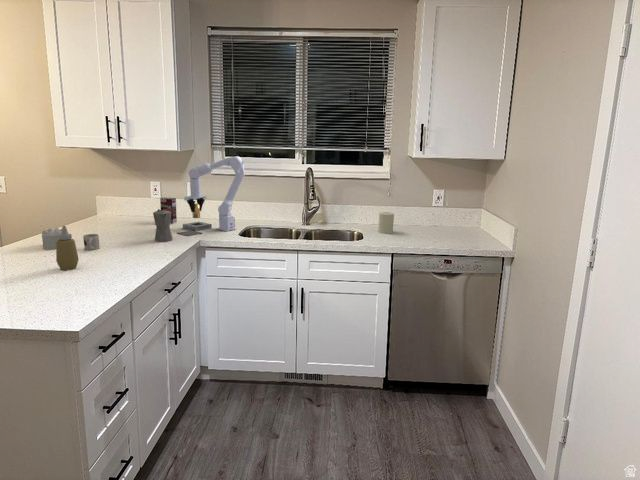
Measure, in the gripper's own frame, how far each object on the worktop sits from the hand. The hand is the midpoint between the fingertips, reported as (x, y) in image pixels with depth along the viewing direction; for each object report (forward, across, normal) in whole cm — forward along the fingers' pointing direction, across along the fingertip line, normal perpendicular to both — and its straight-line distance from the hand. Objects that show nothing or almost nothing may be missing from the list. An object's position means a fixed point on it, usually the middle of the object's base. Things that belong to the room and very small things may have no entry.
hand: (196, 211), depth 268 cm
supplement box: (+11, +2, -26) cm, 29 cm away
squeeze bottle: (+11, +86, +30) cm, 92 cm away
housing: (+10, -1, 0) cm, 10 cm away
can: (+11, -74, +87) cm, 115 cm away
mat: (+10, +11, +9) cm, 18 cm away
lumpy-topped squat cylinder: (+11, +74, -12) cm, 76 cm away
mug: (+11, +65, +6) cm, 66 cm away
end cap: (+4, 0, 0) cm, 4 cm away
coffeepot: (+11, +30, +12) cm, 34 cm away
